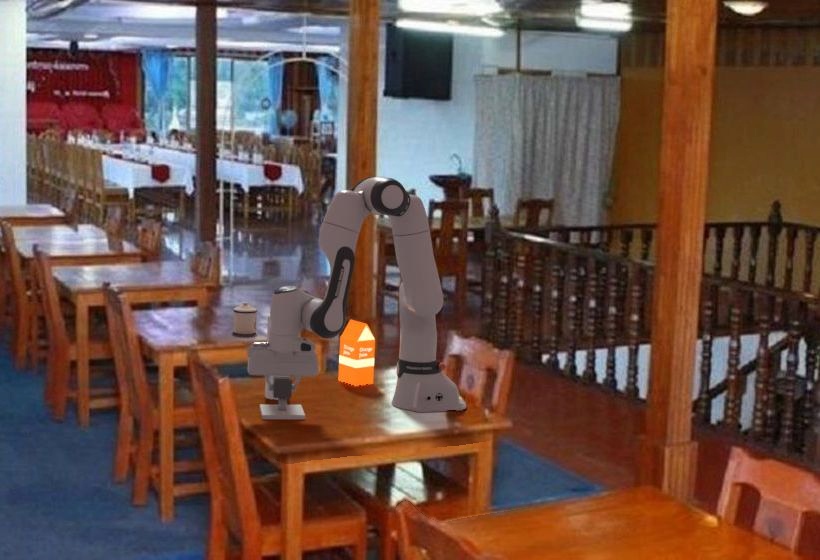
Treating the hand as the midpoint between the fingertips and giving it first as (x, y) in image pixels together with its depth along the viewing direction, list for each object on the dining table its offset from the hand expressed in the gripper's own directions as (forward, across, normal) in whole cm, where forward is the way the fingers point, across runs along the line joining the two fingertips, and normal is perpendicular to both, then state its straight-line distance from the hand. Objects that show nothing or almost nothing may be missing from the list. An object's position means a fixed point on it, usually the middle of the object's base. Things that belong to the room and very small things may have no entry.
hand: (282, 390), depth 345 cm
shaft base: (+7, 0, 0) cm, 7 cm away
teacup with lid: (+7, -5, +123) cm, 123 cm away
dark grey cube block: (+2, 0, 0) cm, 2 cm away
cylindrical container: (+7, 0, +20) cm, 21 cm away
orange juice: (+7, +27, +40) cm, 49 cm away
